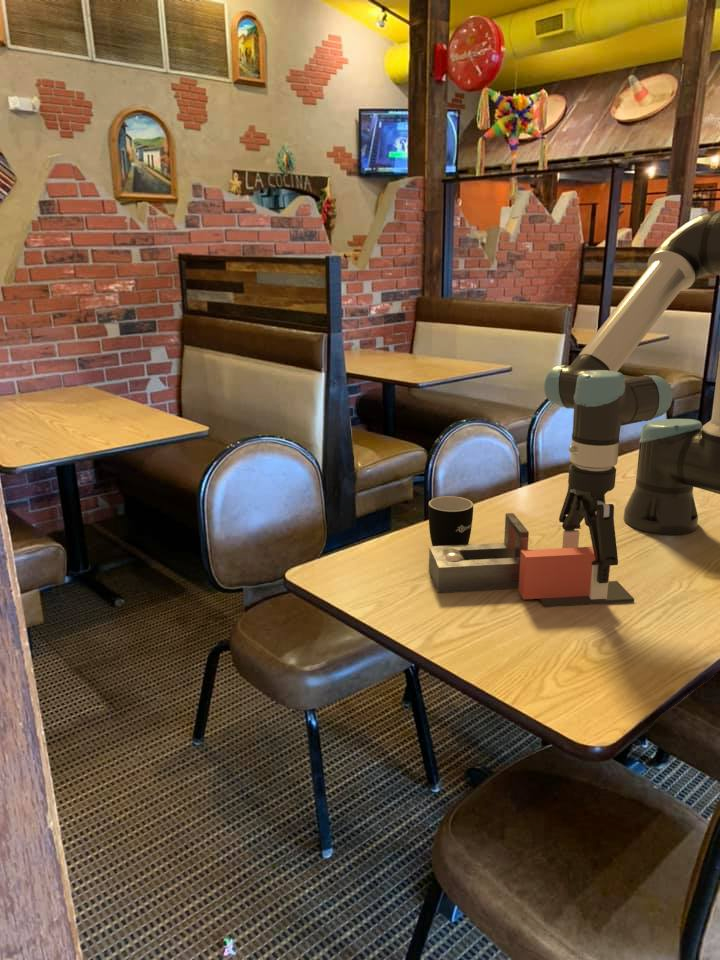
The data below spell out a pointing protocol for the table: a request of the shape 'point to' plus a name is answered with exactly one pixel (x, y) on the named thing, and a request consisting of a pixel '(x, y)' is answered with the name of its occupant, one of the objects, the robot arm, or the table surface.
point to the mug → (450, 520)
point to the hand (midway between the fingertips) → (582, 580)
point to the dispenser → (480, 562)
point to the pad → (613, 596)
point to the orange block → (555, 572)
